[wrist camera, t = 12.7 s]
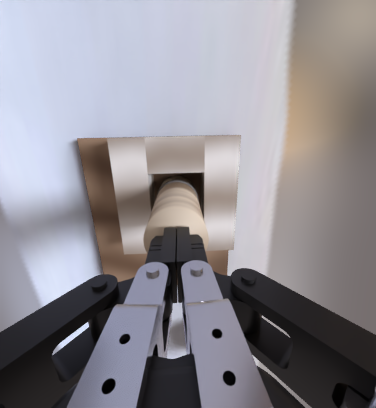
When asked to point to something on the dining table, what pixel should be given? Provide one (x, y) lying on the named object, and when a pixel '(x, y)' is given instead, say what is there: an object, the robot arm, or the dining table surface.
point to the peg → (176, 210)
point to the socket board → (148, 187)
